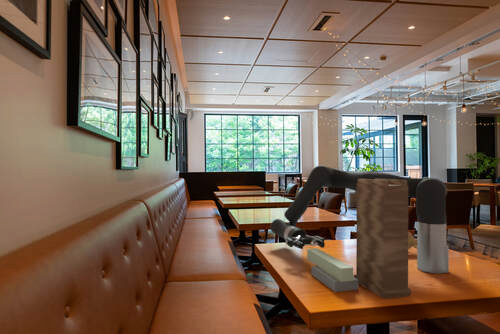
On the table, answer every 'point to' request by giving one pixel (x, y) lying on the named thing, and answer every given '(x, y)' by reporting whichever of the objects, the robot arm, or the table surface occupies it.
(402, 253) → the pedestal
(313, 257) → the pale green bar
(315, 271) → the base block
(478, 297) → the table surface
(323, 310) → the table surface
